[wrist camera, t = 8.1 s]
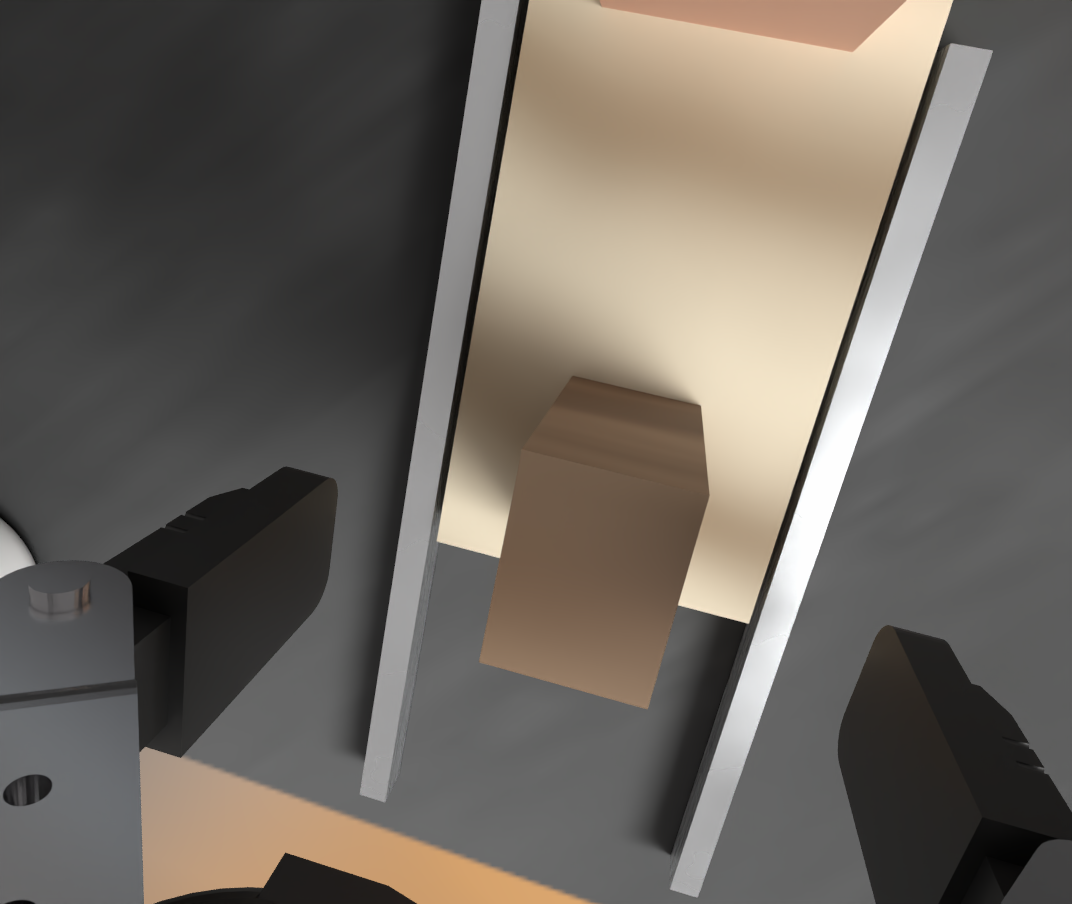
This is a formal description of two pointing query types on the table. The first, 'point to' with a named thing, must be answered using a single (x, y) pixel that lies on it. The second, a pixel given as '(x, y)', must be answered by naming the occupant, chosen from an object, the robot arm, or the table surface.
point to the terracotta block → (776, 17)
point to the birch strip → (662, 319)
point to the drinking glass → (12, 551)
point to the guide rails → (820, 469)
